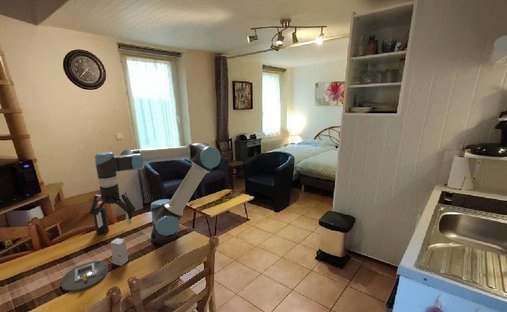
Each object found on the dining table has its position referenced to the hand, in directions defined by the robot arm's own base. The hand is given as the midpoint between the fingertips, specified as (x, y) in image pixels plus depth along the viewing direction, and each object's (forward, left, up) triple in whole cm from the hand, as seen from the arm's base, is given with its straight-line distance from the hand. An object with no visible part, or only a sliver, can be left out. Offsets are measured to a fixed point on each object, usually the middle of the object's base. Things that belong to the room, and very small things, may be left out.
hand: (115, 225), depth 116 cm
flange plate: (+12, +9, -21) cm, 25 cm away
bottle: (+24, -31, -21) cm, 44 cm away
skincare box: (0, 0, -21) cm, 21 cm away
